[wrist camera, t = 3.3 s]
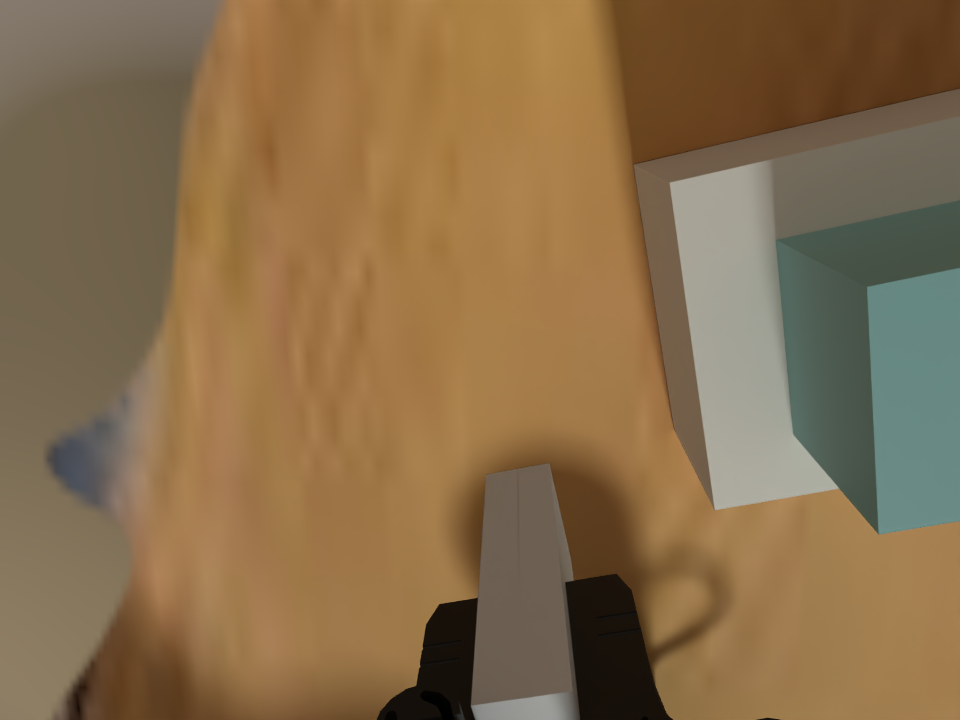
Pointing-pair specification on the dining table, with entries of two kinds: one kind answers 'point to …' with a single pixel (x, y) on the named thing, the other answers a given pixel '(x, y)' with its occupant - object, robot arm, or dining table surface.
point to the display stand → (769, 271)
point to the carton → (879, 361)
